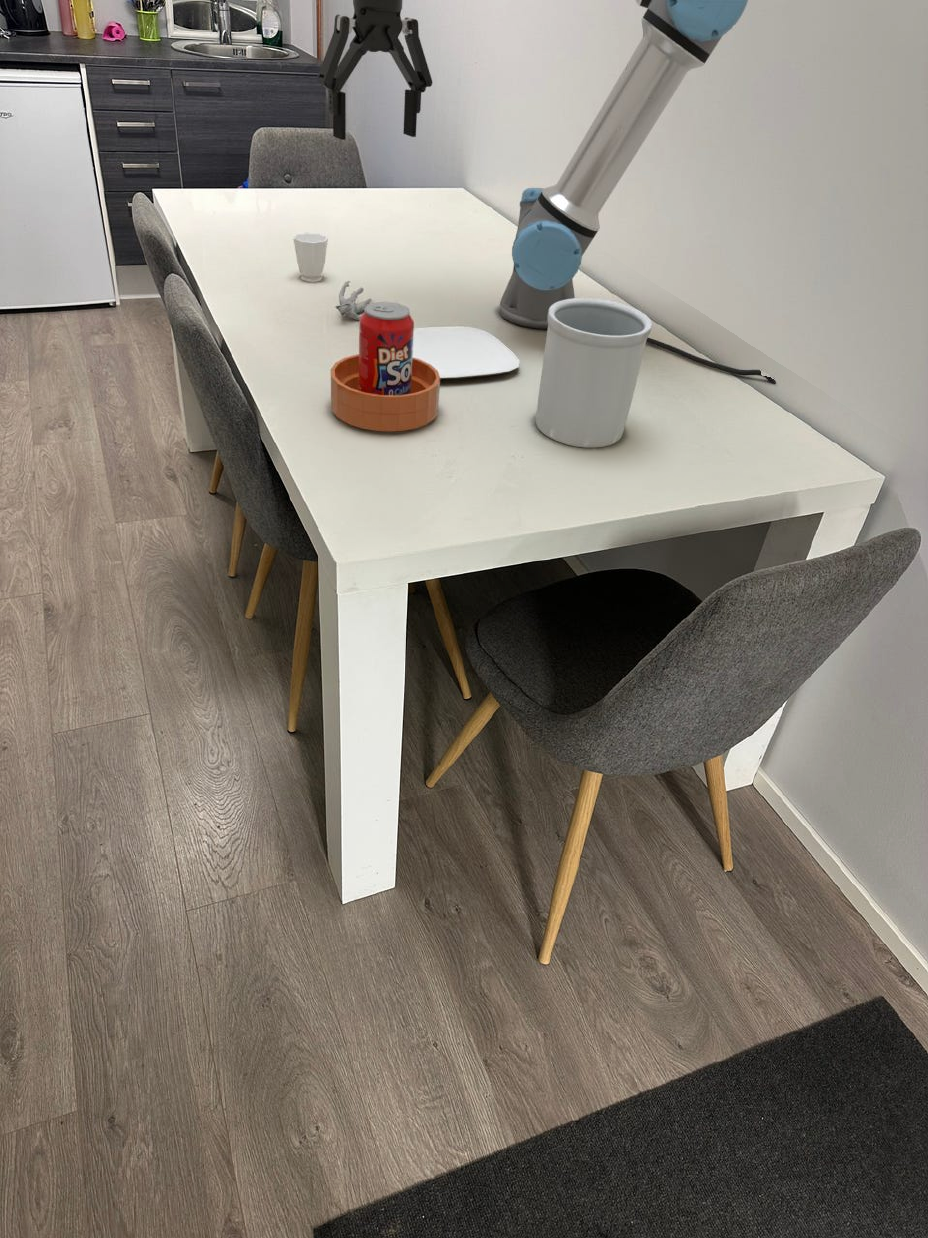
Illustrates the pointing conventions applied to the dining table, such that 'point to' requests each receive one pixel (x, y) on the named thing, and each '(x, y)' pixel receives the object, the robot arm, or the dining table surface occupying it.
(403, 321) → the soda can
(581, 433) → the utensil holder
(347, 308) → the soldier figure
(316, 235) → the cup
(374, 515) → the dining table surface
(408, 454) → the dining table surface
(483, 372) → the plate
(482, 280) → the dining table surface
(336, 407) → the bowl
